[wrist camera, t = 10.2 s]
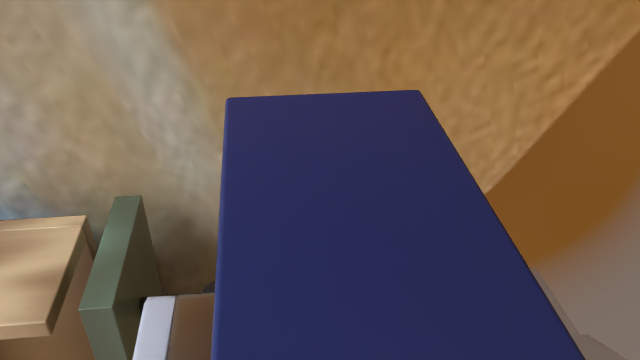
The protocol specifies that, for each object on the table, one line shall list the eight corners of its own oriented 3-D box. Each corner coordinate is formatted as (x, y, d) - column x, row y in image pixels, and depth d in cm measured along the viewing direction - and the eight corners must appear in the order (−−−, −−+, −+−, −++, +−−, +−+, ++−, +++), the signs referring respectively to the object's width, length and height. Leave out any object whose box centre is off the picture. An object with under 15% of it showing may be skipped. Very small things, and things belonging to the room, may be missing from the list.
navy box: (225, 96, 11) (205, 417, 5) (420, 88, 11) (601, 377, 6) (243, 276, 14) (243, 614, 8) (398, 264, 14) (504, 578, 8)
